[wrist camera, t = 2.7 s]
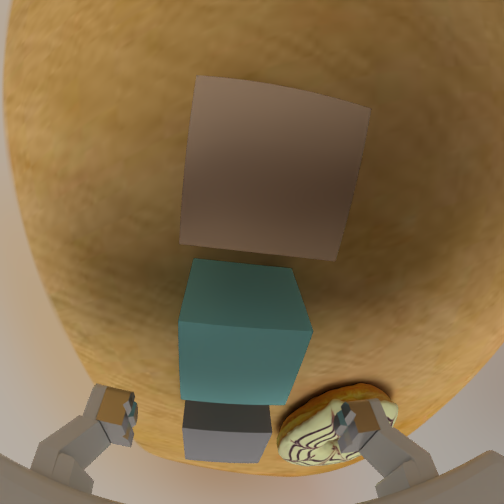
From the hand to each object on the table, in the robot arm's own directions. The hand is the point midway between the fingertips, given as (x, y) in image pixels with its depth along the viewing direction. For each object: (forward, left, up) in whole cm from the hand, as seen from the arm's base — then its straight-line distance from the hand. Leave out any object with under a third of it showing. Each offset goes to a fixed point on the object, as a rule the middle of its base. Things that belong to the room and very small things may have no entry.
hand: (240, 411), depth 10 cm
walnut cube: (-8, 0, -7) cm, 11 cm away
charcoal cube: (+8, 0, -7) cm, 10 cm away
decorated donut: (+12, +10, -7) cm, 17 cm away
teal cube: (0, 0, -7) cm, 7 cm away
